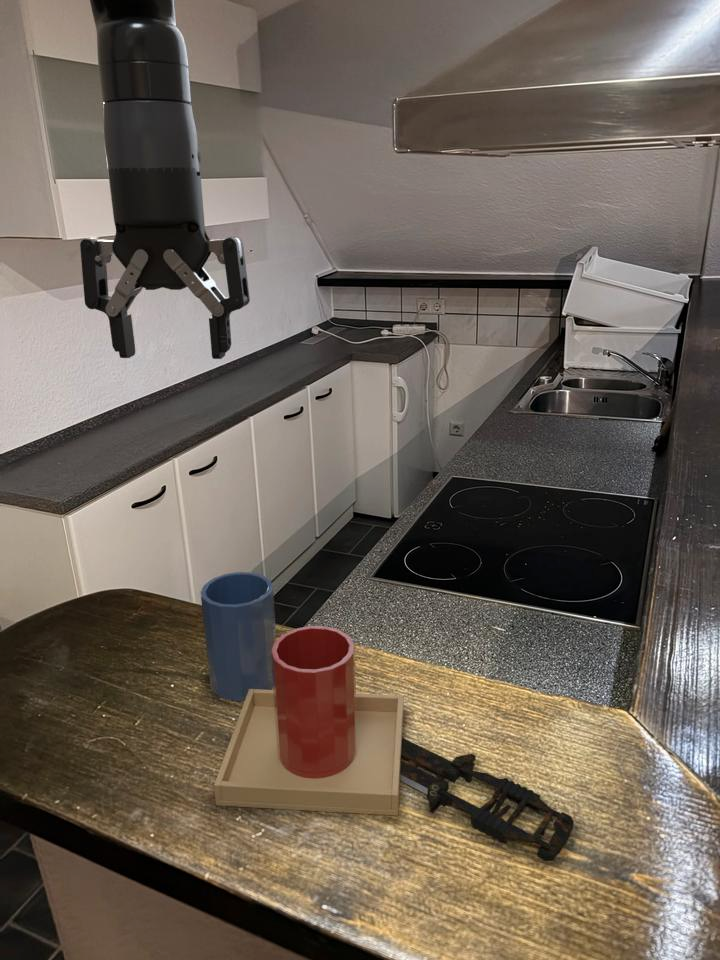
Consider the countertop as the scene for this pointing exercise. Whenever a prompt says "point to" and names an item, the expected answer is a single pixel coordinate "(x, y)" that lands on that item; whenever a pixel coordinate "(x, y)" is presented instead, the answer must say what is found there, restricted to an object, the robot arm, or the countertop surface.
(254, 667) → the blue spoon cup
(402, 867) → the countertop surface
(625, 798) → the countertop surface
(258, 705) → the tray
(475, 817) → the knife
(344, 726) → the red spoon cup
